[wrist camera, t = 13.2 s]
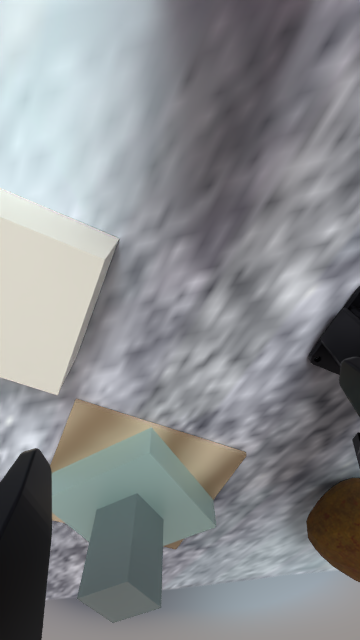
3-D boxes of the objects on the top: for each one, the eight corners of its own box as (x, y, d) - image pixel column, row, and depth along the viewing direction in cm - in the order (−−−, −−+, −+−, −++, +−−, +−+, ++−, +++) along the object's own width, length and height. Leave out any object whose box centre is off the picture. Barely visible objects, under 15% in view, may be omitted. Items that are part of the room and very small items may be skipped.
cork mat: (245, 452, 28) (246, 455, 28) (176, 545, 34) (175, 549, 34) (75, 398, 25) (74, 402, 25) (33, 511, 31) (31, 515, 31)
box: (119, 238, 20) (105, 259, 16) (77, 354, 23) (57, 395, 19) (-37, 172, 18) (-98, 176, 14) (-55, 308, 21) (-108, 343, 17)
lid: (151, 427, 26) (142, 538, 18) (213, 499, 30) (226, 614, 23) (49, 474, 28) (3, 590, 21) (119, 535, 32) (103, 651, 25)
